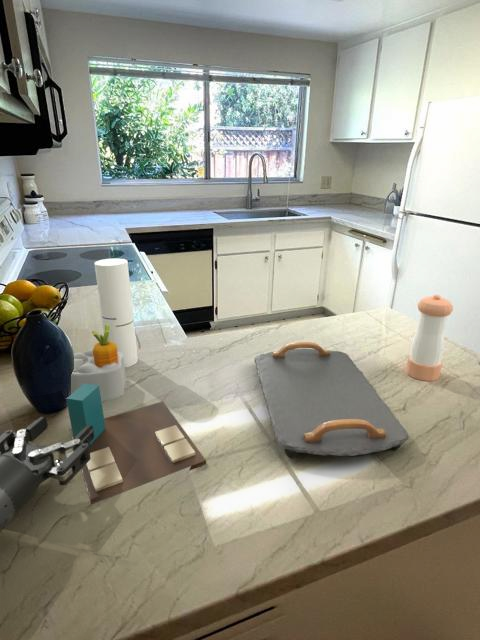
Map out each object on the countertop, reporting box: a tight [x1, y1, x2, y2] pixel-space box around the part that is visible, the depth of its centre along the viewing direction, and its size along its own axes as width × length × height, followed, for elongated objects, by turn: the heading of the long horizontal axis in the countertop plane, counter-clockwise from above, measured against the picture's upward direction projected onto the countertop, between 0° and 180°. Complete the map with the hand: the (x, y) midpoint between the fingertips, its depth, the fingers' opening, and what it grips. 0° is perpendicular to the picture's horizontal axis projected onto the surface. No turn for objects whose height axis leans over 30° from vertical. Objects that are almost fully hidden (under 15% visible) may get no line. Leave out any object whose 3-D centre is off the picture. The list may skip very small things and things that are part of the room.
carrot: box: [91, 325, 118, 368], centre depth 83 cm, size 5×5×15 cm
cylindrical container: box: [93, 257, 139, 369], centre depth 95 cm, size 7×7×25 cm
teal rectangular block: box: [65, 383, 105, 446], centre depth 70 cm, size 3×5×9 cm, turn 166°
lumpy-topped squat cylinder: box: [71, 346, 127, 402], centre depth 85 cm, size 10×13×9 cm
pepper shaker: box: [405, 294, 454, 382], centre depth 90 cm, size 7×7×19 cm
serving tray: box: [254, 341, 410, 458], centre depth 82 cm, size 39×23×6 cm, turn 5°
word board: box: [68, 400, 207, 505], centre depth 69 cm, size 18×20×1 cm
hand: (67, 425), depth 65 cm, fingers open, 8 cm apart
